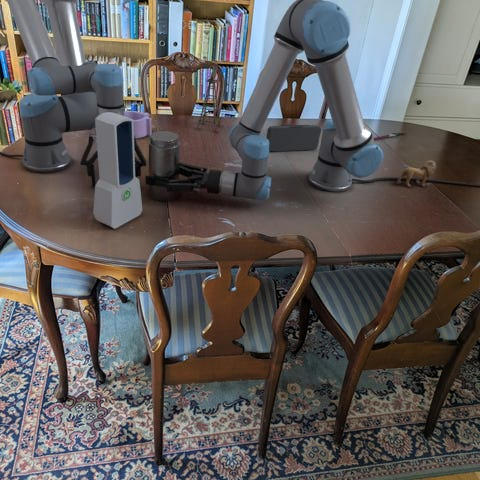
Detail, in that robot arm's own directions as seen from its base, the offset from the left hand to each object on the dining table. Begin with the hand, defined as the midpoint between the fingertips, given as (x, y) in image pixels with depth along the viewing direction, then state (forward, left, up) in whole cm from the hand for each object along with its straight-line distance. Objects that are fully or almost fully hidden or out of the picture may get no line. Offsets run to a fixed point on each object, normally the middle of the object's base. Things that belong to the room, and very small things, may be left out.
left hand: (115, 185), depth 150 cm
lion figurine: (+101, +35, -1) cm, 107 cm away
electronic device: (+7, -18, -1) cm, 20 cm away
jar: (+16, 0, -1) cm, 16 cm away
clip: (-13, +47, -1) cm, 49 cm away
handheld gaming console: (+55, +53, -1) cm, 77 cm away
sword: (+97, +82, -1) cm, 127 cm away
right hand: (+11, 0, +6) cm, 13 cm away
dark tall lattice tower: (+18, +66, -1) cm, 68 cm away
